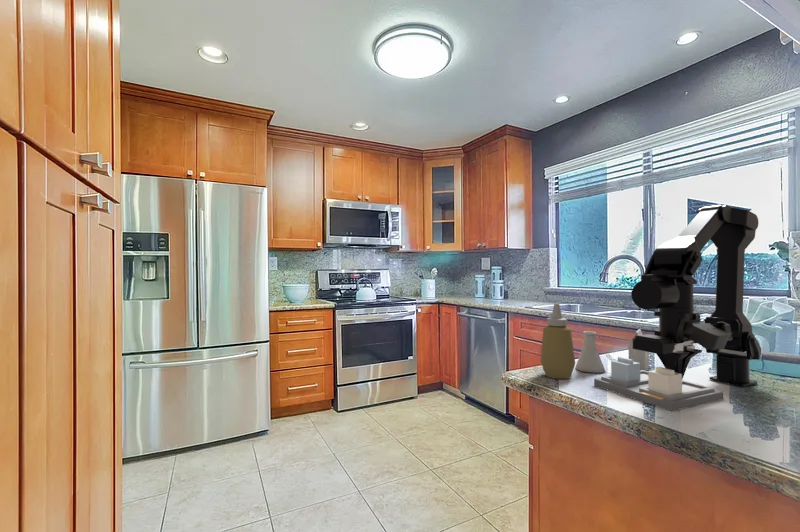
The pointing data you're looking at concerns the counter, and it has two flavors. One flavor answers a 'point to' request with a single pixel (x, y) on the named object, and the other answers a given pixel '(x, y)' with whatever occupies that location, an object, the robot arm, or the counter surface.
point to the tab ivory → (665, 381)
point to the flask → (589, 355)
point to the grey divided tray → (640, 391)
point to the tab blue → (625, 370)
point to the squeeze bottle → (557, 347)
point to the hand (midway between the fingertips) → (676, 383)
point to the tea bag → (639, 355)
